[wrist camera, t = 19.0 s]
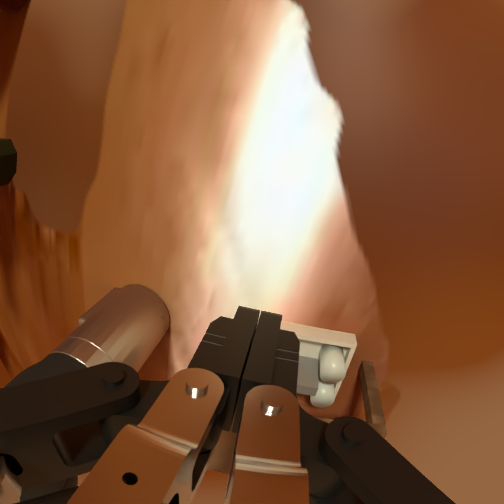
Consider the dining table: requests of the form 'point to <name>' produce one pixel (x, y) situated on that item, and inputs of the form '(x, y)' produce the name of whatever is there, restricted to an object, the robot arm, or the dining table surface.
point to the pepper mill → (11, 5)
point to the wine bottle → (7, 161)
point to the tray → (318, 339)
